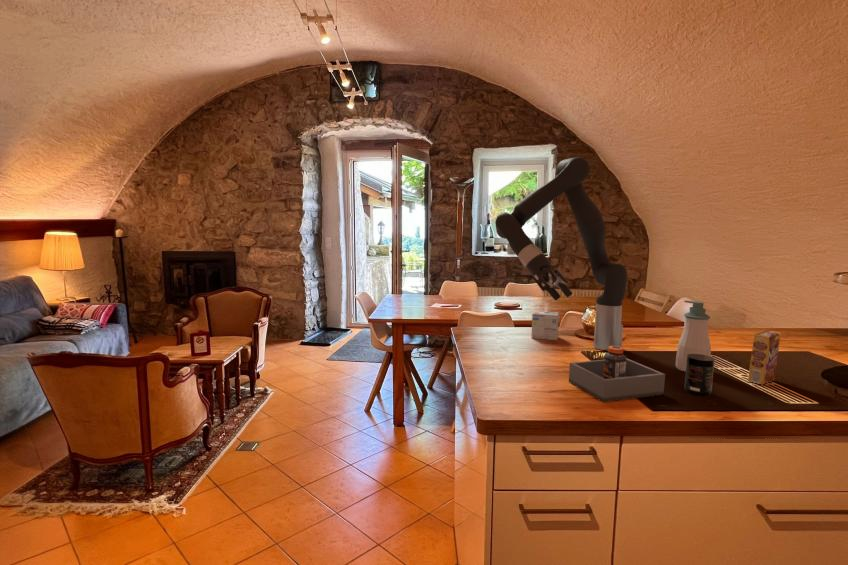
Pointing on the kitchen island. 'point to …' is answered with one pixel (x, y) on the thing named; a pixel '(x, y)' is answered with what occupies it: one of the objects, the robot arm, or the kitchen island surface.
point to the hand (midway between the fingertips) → (564, 297)
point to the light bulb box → (545, 325)
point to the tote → (616, 381)
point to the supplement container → (699, 374)
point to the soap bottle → (693, 335)
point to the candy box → (764, 357)
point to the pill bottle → (614, 363)
